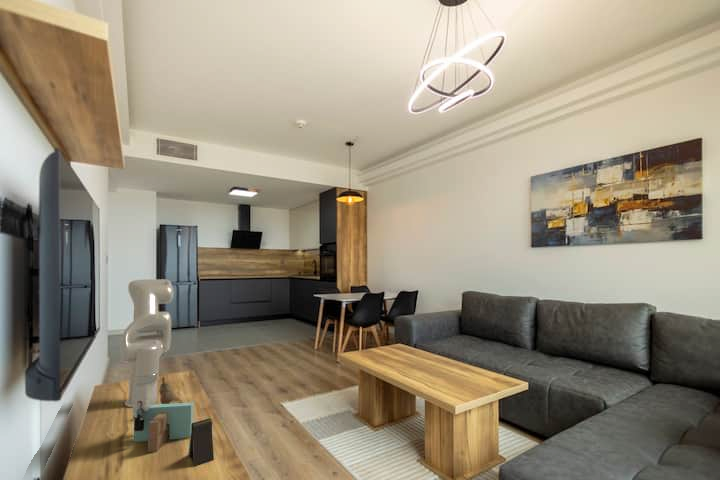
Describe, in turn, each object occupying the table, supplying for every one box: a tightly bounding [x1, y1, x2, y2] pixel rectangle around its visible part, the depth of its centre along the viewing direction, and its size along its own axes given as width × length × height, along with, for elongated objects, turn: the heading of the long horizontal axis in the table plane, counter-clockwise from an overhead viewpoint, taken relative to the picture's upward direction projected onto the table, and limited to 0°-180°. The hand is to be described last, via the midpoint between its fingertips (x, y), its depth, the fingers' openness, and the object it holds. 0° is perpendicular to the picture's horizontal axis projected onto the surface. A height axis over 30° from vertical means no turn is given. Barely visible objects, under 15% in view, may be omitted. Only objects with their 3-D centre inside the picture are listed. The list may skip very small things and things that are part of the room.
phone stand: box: [187, 418, 215, 467], centre depth 118 cm, size 9×6×12 cm, turn 38°
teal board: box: [133, 401, 195, 443], centre depth 131 cm, size 3×20×12 cm, turn 98°
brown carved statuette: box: [159, 376, 184, 404], centre depth 152 cm, size 12×6×18 cm, turn 123°
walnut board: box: [147, 399, 181, 453], centre depth 131 cm, size 20×3×10 cm, turn 8°
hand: (145, 424), depth 130 cm, fingers open, 9 cm apart
